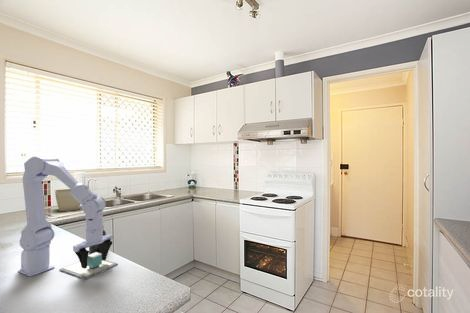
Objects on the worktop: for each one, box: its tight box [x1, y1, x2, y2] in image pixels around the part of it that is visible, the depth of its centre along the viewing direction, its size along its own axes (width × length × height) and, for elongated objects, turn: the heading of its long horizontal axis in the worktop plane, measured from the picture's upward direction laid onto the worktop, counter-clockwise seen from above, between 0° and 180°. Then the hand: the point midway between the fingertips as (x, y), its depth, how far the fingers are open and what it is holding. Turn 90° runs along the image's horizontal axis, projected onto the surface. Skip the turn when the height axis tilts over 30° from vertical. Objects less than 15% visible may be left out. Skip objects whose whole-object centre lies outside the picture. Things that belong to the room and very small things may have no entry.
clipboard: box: [59, 259, 118, 281], centre depth 91 cm, size 16×13×1 cm
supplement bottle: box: [88, 227, 107, 254], centre depth 108 cm, size 7×7×12 cm
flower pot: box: [54, 188, 81, 212], centre depth 199 cm, size 19×19×17 cm
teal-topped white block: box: [87, 252, 102, 269], centre depth 90 cm, size 4×4×5 cm
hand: (94, 263), depth 90 cm, fingers open, 7 cm apart
